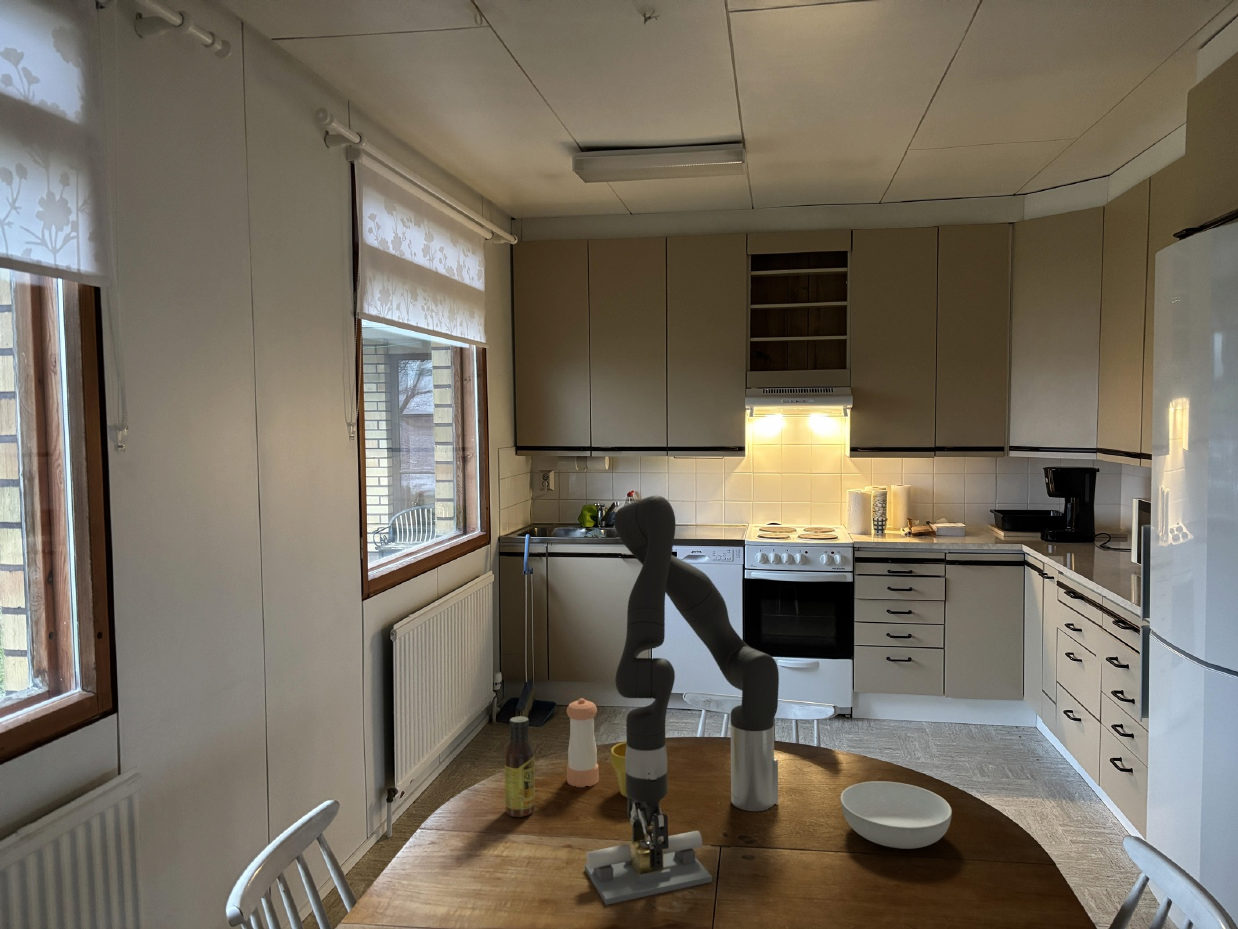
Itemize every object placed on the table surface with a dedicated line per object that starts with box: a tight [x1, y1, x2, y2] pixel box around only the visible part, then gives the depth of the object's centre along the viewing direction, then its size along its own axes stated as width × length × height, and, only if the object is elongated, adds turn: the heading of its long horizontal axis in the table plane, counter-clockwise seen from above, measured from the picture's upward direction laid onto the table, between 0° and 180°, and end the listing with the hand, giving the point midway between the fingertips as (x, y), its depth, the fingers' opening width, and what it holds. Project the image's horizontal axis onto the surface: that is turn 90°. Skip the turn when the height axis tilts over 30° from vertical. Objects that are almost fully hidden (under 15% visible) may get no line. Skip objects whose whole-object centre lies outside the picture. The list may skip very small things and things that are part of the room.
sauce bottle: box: [504, 715, 536, 818], centre depth 174 cm, size 7×6×20 cm
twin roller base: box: [584, 830, 713, 906], centre depth 148 cm, size 22×12×6 cm, turn 110°
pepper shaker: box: [566, 697, 600, 788], centre depth 189 cm, size 7×7×19 cm
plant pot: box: [610, 741, 627, 798], centre depth 183 cm, size 10×10×10 cm
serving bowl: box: [840, 780, 953, 850], centre depth 162 cm, size 21×21×7 cm
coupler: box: [630, 838, 664, 875], centre depth 148 cm, size 4×4×5 cm
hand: (647, 856), depth 148 cm, fingers open, 8 cm apart
